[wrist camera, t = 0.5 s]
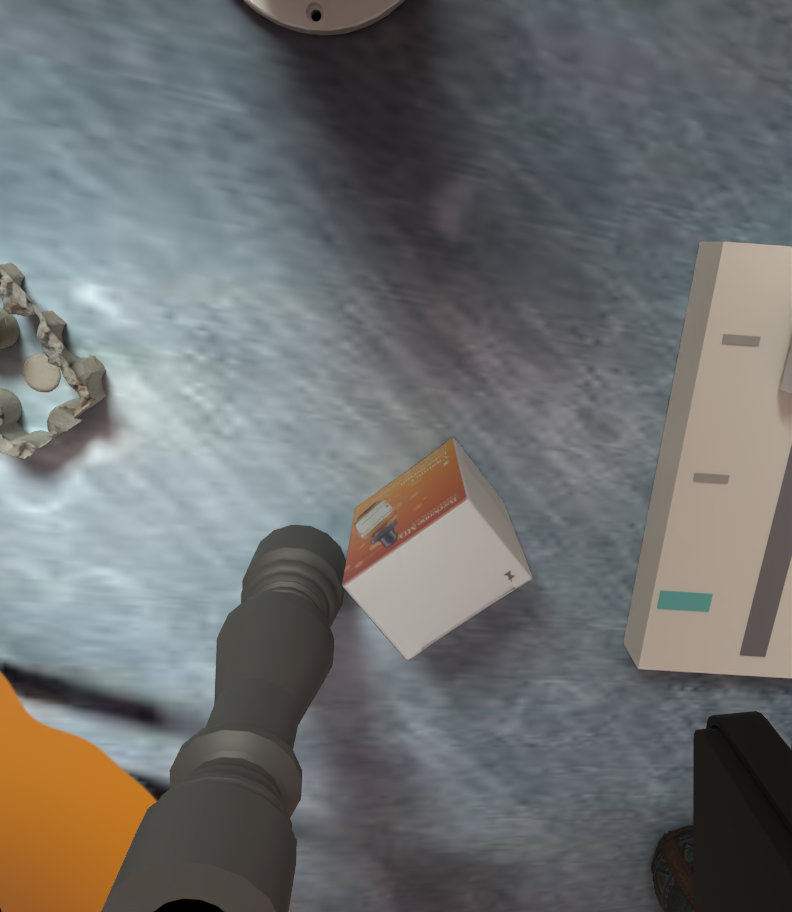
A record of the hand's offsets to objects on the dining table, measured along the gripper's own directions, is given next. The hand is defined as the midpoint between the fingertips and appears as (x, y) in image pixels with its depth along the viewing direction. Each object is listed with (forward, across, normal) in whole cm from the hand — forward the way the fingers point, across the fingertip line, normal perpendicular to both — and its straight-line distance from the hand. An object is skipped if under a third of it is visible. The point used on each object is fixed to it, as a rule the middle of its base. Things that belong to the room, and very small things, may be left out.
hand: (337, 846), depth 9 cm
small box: (+34, -2, +9) cm, 35 cm away
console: (+34, -23, +9) cm, 42 cm away
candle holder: (+34, +7, +12) cm, 37 cm away
